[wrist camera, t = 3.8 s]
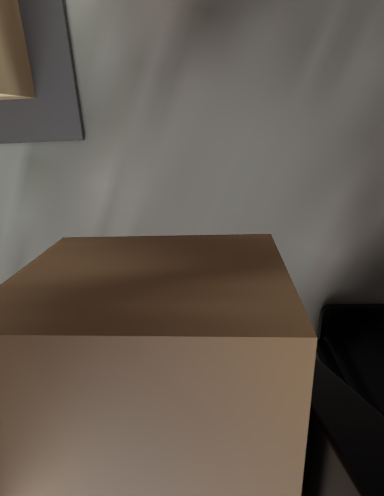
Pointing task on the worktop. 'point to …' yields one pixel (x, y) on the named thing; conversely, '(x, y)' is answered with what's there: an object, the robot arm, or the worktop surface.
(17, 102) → the pad
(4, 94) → the maple cube
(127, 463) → the walnut cube
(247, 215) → the worktop surface
